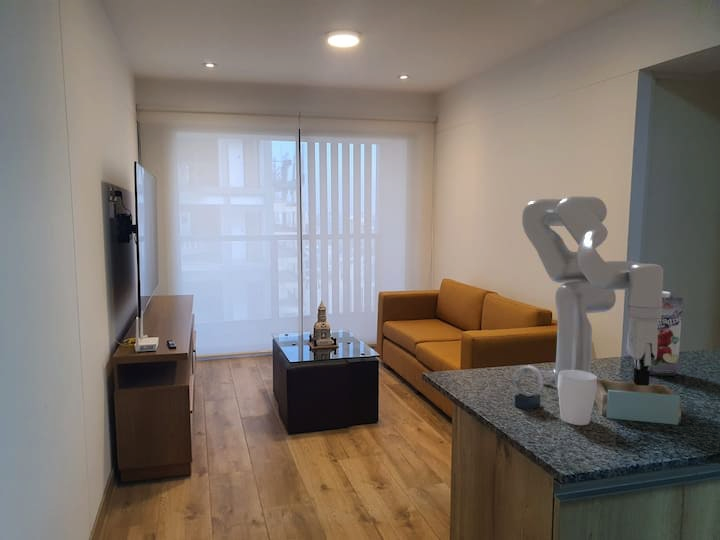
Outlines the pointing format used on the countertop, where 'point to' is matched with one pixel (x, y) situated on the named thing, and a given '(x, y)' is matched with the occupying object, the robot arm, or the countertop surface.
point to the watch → (527, 398)
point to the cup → (576, 396)
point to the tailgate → (643, 406)
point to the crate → (627, 386)
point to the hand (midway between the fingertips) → (641, 384)
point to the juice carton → (668, 336)
